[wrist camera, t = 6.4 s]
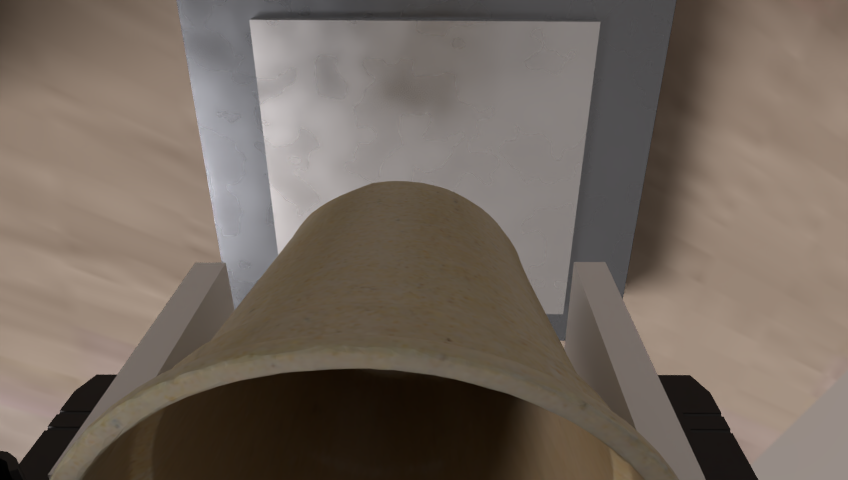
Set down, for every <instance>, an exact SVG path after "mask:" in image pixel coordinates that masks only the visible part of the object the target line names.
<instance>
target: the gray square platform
mask: <svg viewBox="0 0 848 480" xmlns="http://www.w3.org/2000/svg"><path fill="white" fill-rule="evenodd" d="M675 5H676V0H177V6H178V11H179V17H180V23H181V29H182V35H183V40H184V46H185V52H186V58H187V64H188V69H189V75H190V81H191V87H192V93H193V98H194V104H195V110H196V116H197V122H198V127H199V133H200V139H201V145H202V150H203V156H204V162H205V168H206V174H207V179H208V185H209V191H210V197H211V203H212V208H213V214H214V220H215V226H216V232H217V237H218V243H219V249H220V255H221V260H222V263H226V267H227V272H228V277H229V283H230V288H231V293H232V298H233V304H234V309H236V308H237V307H238V306H239V304H240V303H241V302H242V300H243V299H244V298H245V297H246V295H247V294H248V293H249V292H250V290H251V289H252V288H253V286H254V285H255V284H256V283H257V281H258V280H259V279H260V278H261V276H262V275H263V274H264V273H265V271H266V270H267V269H268V268H269V266H270V265H271V264H272V263H273V261H274V260H275V259H276V257H277V256H278V255H279V254H280V252H281V251H282V250H283V248H284V247H285V246H286V245H287V243H288V242H289V241H290V240H291V238H292V237H293V236H294V234H295V233H296V231H297V230H298V228H299V227H300V226H301V224H302V223H303V222H304V221H305V220H306V218H307V217H308V216H309V215H310V214H311V213H313V212H314V211H315V210H317V209H318V208H319V207H321V206H322V205H324V204H326V203H327V202H329V201H331V200H333V199H335V198H337V197H339V196H341V195H343V194H346V193H348V192H350V191H353V190H355V189H358V188H361V187H363V186H366V185H369V184H371V183H377V182H386V181H410V182H419V183H425V184H430V185H434V186H438V187H442V188H445V189H448V190H450V191H452V192H455V193H457V194H459V195H461V196H463V197H464V198H466V199H468V200H470V201H471V202H473V203H474V204H476V205H477V206H479V207H480V208H482V209H483V210H484V211H485V212H487V213H488V214H489V215H490V216H491V217H492V218H493V219H494V220H495V221H496V222H497V223H498V225H499V226H500V227H501V229H502V230H503V231H504V233H505V234H506V235H507V237H508V238H509V239H510V241H511V242H512V244H513V246H514V247H515V249H516V251H517V253H518V256H519V259H520V261H521V264H522V266H523V269H524V271H525V273H526V275H527V278H528V280H529V282H530V284H531V286H532V288H533V290H534V292H535V294H536V296H537V298H538V300H539V301H540V303H541V305H542V307H543V309H544V311H545V313H546V315H547V317H548V319H549V321H550V323H551V325H552V327H553V329H554V331H555V333H556V335H557V336H558V338H559V340H562V341H565V338H566V329H567V320H568V311H569V302H570V293H571V284H572V275H573V266H574V262H606V264H607V267H608V269H609V271H610V273H611V275H612V277H613V280H614V282H615V284H616V286H617V288H618V290H619V293H620V295H621V297H622V299H623V294H624V289H625V283H626V278H627V272H628V267H629V261H630V255H631V250H632V244H633V239H634V233H635V228H636V222H637V216H638V211H639V205H640V200H641V194H642V189H643V183H644V177H645V172H646V166H647V161H648V155H649V150H650V144H651V139H652V133H653V127H654V122H655V116H656V111H657V105H658V100H659V94H660V88H661V83H662V77H663V72H664V66H665V61H666V55H667V49H668V44H669V38H670V33H671V27H672V22H673V16H674V10H675Z"/></svg>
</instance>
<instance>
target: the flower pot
mask: <svg viewBox="0 0 848 480" xmlns="http://www.w3.org/2000/svg"><path fill="white" fill-rule="evenodd" d="M50 480H679V479H678V477H677V476H676V474H675V473H674V471H673V470H672V468H671V467H670V466H669V465H668V463H667V462H666V461H665V460H664V458H663V457H662V456H661V455H660V453H659V452H658V451H657V450H656V449H655V448H654V447H653V446H652V445H651V444H650V443H649V442H648V441H647V440H646V439H645V438H644V437H643V436H642V435H641V434H640V433H639V432H638V431H636V430H635V429H634V428H633V427H632V426H631V425H630V424H629V423H628V422H627V421H625V420H624V419H622V418H621V417H620V416H618V415H617V414H616V413H614V412H613V411H612V410H611V409H610V408H609V406H608V405H607V404H606V403H605V402H604V401H603V399H602V398H601V397H600V396H599V395H598V394H597V393H596V392H595V390H594V389H593V388H591V387H590V386H589V385H588V384H587V383H586V382H585V381H584V380H583V379H582V378H581V377H580V376H579V375H578V374H577V373H576V371H575V369H574V367H573V365H572V363H571V361H570V360H569V358H568V356H567V354H566V352H565V350H564V348H563V346H562V344H561V342H560V340H559V338H558V336H557V335H556V333H555V331H554V329H553V327H552V325H551V323H550V321H549V319H548V317H547V315H546V313H545V311H544V309H543V307H542V305H541V303H540V301H539V300H538V298H537V296H536V294H535V292H534V290H533V288H532V286H531V284H530V282H529V280H528V278H527V275H526V273H525V271H524V269H523V266H522V264H521V261H520V259H519V256H518V253H517V251H516V249H515V247H514V246H513V244H512V242H511V241H510V239H509V238H508V237H507V235H506V234H505V233H504V231H503V230H502V229H501V227H500V226H499V225H498V223H497V222H496V221H495V220H494V219H493V218H492V217H491V216H490V215H489V214H488V213H487V212H485V211H484V210H483V209H482V208H480V207H479V206H477V205H476V204H474V203H473V202H471V201H470V200H468V199H466V198H464V197H463V196H461V195H459V194H457V193H455V192H452V191H450V190H448V189H445V188H442V187H438V186H434V185H430V184H425V183H419V182H410V181H386V182H377V183H371V184H369V185H366V186H363V187H361V188H358V189H355V190H353V191H350V192H348V193H346V194H343V195H341V196H339V197H337V198H335V199H333V200H331V201H329V202H327V203H326V204H324V205H322V206H321V207H319V208H318V209H317V210H315V211H314V212H313V213H311V214H310V215H309V216H308V217H307V218H306V220H305V221H304V222H303V223H302V224H301V226H300V227H299V228H298V230H297V231H296V233H295V234H294V236H293V237H292V238H291V240H290V241H289V242H288V243H287V245H286V246H285V247H284V248H283V250H282V251H281V252H280V254H279V255H278V256H277V257H276V259H275V260H274V261H273V263H272V264H271V265H270V266H269V268H268V269H267V270H266V271H265V273H264V274H263V275H262V276H261V278H260V279H259V280H258V281H257V283H256V284H255V285H254V286H253V288H252V289H251V290H250V292H249V293H248V294H247V295H246V297H245V298H244V299H243V300H242V302H241V303H240V304H239V306H238V307H237V308H236V309H235V311H234V312H233V313H232V314H231V316H230V317H229V318H228V319H227V321H226V322H225V323H224V324H223V326H222V327H221V328H220V329H219V331H218V332H217V333H216V334H215V336H214V337H213V338H212V339H211V341H210V342H208V343H206V344H204V345H202V346H201V347H199V348H198V349H197V350H195V351H194V352H192V353H191V354H190V355H188V356H187V357H186V358H184V359H183V360H182V361H180V362H179V363H178V364H176V365H175V366H174V367H173V368H172V369H171V370H168V371H166V372H164V373H162V374H160V375H158V376H157V377H155V378H153V379H151V380H150V381H148V382H146V383H144V384H143V385H141V386H139V387H138V388H136V389H135V390H133V391H132V392H130V393H129V394H128V395H126V396H125V397H123V398H122V399H120V400H119V401H118V402H116V403H115V404H113V405H112V406H111V407H109V408H108V409H107V410H106V411H105V412H104V413H103V414H102V415H101V416H99V417H98V418H97V419H96V420H95V421H94V422H93V423H92V424H90V425H89V426H88V427H87V428H86V430H85V431H84V432H83V433H82V434H81V436H80V437H79V438H78V439H77V440H76V442H75V443H74V444H73V445H72V446H71V448H70V449H69V450H68V451H67V452H66V454H65V455H64V457H63V459H62V460H61V462H60V463H59V465H58V466H57V468H56V469H55V471H54V472H53V474H52V476H51V478H50Z"/></svg>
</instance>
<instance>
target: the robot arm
mask: <svg viewBox="0 0 848 480" xmlns="http://www.w3.org/2000/svg"><path fill="white" fill-rule="evenodd" d="M234 311H235V309H234V304H233V298H232V293H231V288H230V283H229V277H228V272H227V267H226V263H195V264H194V265H193V267H192V268H191V270H190V271H189V273H188V274H187V275H186V277H185V278H184V280H183V281H182V283H181V284H180V285H179V287H178V288H177V290H176V291H175V293H174V294H173V296H172V297H171V298H170V300H169V301H168V303H167V304H166V306H165V307H164V308H163V310H162V311H161V313H160V314H159V316H158V317H157V319H156V320H155V321H154V323H153V324H152V326H151V327H150V329H149V330H148V331H147V333H146V334H145V336H144V337H143V339H142V340H141V342H140V343H139V344H138V346H137V347H136V349H135V350H134V352H133V353H132V354H131V356H130V357H129V359H128V360H127V362H126V363H125V365H124V366H123V367H122V369H121V370H120V372H119V373H118V375H96V376H94V377H93V378H92V379H90V380H89V381H88V382H86V383H85V384H84V385H82V386H81V387H80V388H78V389H77V390H76V391H74V393H73V394H72V395H71V397H70V398H69V399H68V401H67V402H66V403H65V405H64V406H63V407H62V408H61V410H60V414H57V415H56V416H55V418H54V419H53V420H52V422H51V423H50V424H49V426H48V430H47V431H44V432H43V433H42V435H41V436H40V437H39V439H38V440H37V441H36V443H35V444H34V445H33V447H32V448H31V449H30V451H29V452H28V453H27V454H26V456H25V457H24V458H23V460H22V461H21V462H20V464H19V463H18V461H17V459H16V458H15V457H14V456H12V455H11V454H10V453H8V452H4V451H0V480H50V478H51V476H52V474H53V472H54V471H55V469H56V468H57V466H58V465H59V463H60V462H61V460H62V459H63V457H64V455H65V454H66V452H67V451H68V450H69V449H70V448H71V446H72V445H73V444H74V443H75V442H76V440H77V439H78V438H79V437H80V436H81V434H82V433H83V432H84V431H85V430H86V428H87V427H88V426H89V425H90V424H92V423H93V422H94V421H95V420H96V419H97V418H98V417H99V416H101V415H102V414H103V413H104V412H105V411H106V410H107V409H108V408H109V407H111V406H112V405H113V404H115V403H116V402H118V401H119V400H120V399H122V398H123V397H125V396H126V395H128V394H129V393H130V392H132V391H133V390H135V389H136V388H138V387H139V386H141V385H143V384H144V383H146V382H148V381H150V380H151V379H153V378H155V377H157V376H158V375H160V374H162V373H164V372H166V371H168V370H171V369H172V368H173V367H174V366H175V365H176V364H178V363H179V362H180V361H182V360H183V359H184V358H186V357H187V356H188V355H190V354H191V353H192V352H194V351H195V350H197V349H198V348H199V347H201V346H202V345H204V344H206V343H208V342H210V341H211V339H212V338H213V337H214V336H215V334H216V333H217V332H218V331H219V329H220V328H221V327H222V326H223V324H224V323H225V322H226V321H227V319H228V318H229V317H230V316H231V314H232V313H233V312H234ZM564 350H565V352H566V354H567V356H568V358H569V360H570V361H571V363H572V365H573V367H574V369H575V371H576V373H577V374H578V375H579V376H580V377H581V378H582V379H583V380H584V381H585V382H586V383H587V384H588V385H589V386H590V387H591V388H593V389H594V390H595V392H596V393H597V394H598V395H599V396H600V397H601V398H602V399H603V401H604V402H605V403H606V404H607V405H608V406H609V408H610V409H611V410H612V411H613V412H614V413H616V414H617V415H618V416H620V417H621V418H622V419H624V420H625V421H627V422H628V423H629V424H630V425H631V426H632V427H633V428H634V429H635V430H636V431H638V432H639V433H640V434H641V435H642V436H643V437H644V438H645V439H646V440H647V441H648V442H649V443H650V444H651V445H652V446H653V447H654V448H655V449H656V450H657V451H658V452H659V453H660V455H661V456H662V457H663V458H664V460H665V461H666V462H667V463H668V465H669V466H670V467H671V468H672V470H673V471H674V473H675V474H676V476H677V477H678V479H679V480H758V478H757V477H756V475H755V473H754V471H753V470H752V468H751V466H750V464H749V462H748V460H747V459H746V457H745V455H744V453H743V451H742V450H741V448H740V446H739V444H738V442H737V441H736V439H735V437H734V435H733V433H730V428H729V426H728V424H727V422H726V421H725V419H724V417H722V416H721V412H720V410H719V408H718V406H717V404H716V403H715V401H714V399H713V397H712V395H711V394H710V392H709V391H707V390H706V389H705V388H704V387H703V386H702V385H701V384H699V383H698V382H697V381H696V380H695V379H694V378H693V377H691V376H690V375H657V373H656V371H655V368H654V366H653V364H652V362H651V360H650V358H649V355H648V353H647V351H646V349H645V347H644V345H643V342H642V340H641V338H640V336H639V334H638V332H637V329H636V327H635V325H634V323H633V321H632V319H631V316H630V314H629V312H628V310H627V308H626V306H625V303H624V301H623V299H622V297H621V295H620V293H619V290H618V288H617V286H616V284H615V282H614V280H613V277H612V275H611V273H610V271H609V269H608V267H607V264H606V262H574V266H573V275H572V284H571V293H570V302H569V311H568V320H567V329H566V338H565V347H564Z"/></svg>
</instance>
